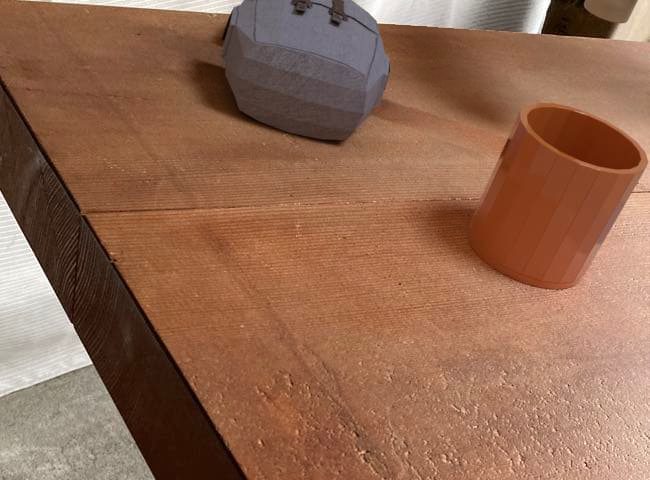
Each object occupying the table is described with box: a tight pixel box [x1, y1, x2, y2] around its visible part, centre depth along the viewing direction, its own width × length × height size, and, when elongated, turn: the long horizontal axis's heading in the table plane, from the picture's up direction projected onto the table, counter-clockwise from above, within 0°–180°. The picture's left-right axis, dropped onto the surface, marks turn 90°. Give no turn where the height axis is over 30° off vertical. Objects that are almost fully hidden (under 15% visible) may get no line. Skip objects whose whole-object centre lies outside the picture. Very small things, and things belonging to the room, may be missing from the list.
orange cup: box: [466, 102, 649, 290], centre depth 77 cm, size 10×10×10 cm
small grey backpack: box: [220, 0, 391, 141], centre depth 88 cm, size 15×8×20 cm
